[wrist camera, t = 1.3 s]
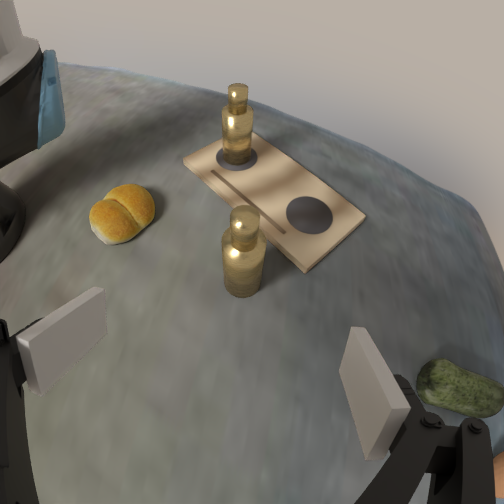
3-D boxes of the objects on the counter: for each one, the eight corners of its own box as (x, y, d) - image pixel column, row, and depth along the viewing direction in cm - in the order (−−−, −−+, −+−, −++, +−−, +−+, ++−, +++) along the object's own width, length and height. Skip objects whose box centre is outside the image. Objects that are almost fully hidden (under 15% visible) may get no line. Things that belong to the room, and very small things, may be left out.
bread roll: (167, 211, 40) (162, 191, 36) (117, 257, 36) (107, 239, 32) (130, 185, 42) (124, 165, 39) (84, 224, 38) (73, 205, 35)
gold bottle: (217, 155, 43) (215, 86, 34) (238, 144, 45) (240, 78, 35) (235, 169, 42) (236, 98, 32) (256, 157, 44) (261, 88, 34)
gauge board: (184, 164, 44) (183, 157, 43) (244, 133, 49) (245, 126, 48) (305, 273, 35) (307, 268, 34) (363, 221, 40) (366, 215, 39)
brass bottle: (216, 279, 34) (209, 214, 25) (243, 259, 36) (247, 190, 26) (240, 304, 33) (242, 245, 23) (267, 283, 35) (280, 218, 25)
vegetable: (403, 401, 28) (427, 394, 23) (415, 359, 30) (438, 346, 26) (484, 426, 25) (511, 420, 21) (492, 388, 27) (518, 379, 23)
